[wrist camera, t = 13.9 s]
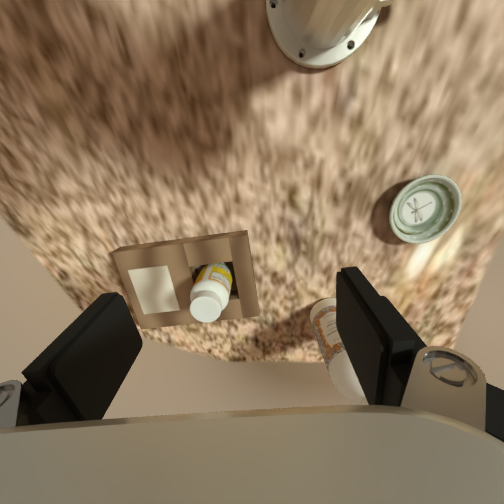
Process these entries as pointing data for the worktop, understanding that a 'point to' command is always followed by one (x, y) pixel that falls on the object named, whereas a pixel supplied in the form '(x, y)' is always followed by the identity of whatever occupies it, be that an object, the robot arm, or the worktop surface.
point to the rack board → (184, 277)
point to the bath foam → (335, 351)
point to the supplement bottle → (211, 292)
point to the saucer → (425, 209)
